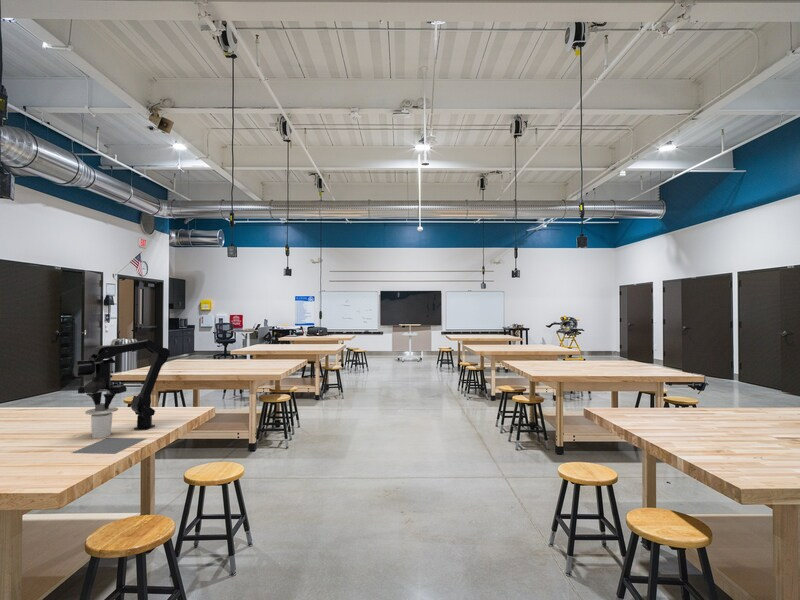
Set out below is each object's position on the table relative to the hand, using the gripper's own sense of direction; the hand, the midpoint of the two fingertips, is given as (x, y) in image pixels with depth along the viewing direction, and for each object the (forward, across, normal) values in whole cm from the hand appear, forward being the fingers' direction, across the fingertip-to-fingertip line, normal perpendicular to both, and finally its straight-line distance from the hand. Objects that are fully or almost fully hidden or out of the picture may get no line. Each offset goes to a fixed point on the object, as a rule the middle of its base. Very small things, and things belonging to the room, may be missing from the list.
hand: (102, 408), depth 190 cm
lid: (+1, 0, 0) cm, 1 cm away
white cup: (+13, 0, 0) cm, 13 cm away
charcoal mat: (+12, +14, -13) cm, 23 cm away
